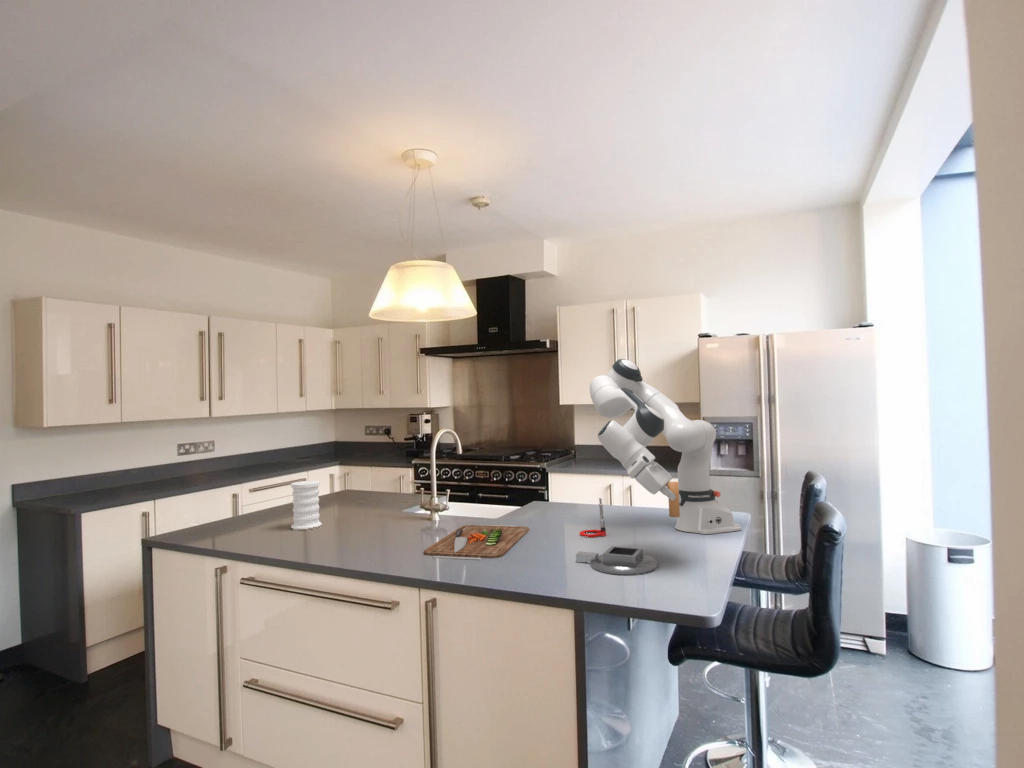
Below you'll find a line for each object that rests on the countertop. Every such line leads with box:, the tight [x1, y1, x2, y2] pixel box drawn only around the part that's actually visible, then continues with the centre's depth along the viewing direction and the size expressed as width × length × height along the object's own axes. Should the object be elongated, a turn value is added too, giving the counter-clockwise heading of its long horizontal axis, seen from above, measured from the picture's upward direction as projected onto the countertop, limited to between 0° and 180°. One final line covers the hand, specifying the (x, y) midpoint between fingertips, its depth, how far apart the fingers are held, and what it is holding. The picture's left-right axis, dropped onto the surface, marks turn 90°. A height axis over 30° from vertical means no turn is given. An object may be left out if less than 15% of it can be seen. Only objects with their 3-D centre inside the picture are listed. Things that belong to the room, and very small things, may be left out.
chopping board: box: [423, 524, 530, 561], centre depth 202 cm, size 45×27×3 cm, turn 164°
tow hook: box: [578, 497, 607, 538], centre depth 206 cm, size 8×13×9 cm
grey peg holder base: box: [575, 545, 658, 576], centre depth 169 cm, size 19×24×4 cm
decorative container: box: [290, 480, 323, 529], centre depth 233 cm, size 12×12×18 cm
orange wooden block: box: [668, 481, 680, 518], centre depth 171 cm, size 3×3×10 cm
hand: (675, 497), depth 171 cm, fingers closed on orange wooden block, 3 cm apart
